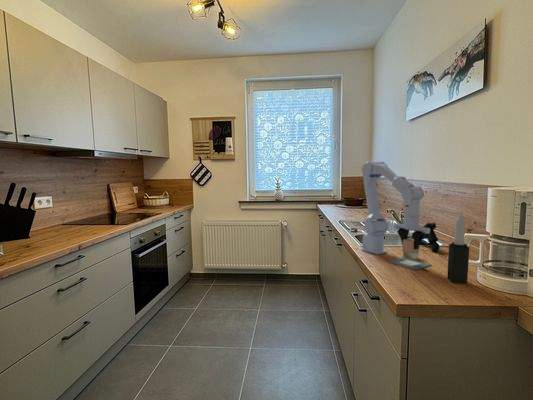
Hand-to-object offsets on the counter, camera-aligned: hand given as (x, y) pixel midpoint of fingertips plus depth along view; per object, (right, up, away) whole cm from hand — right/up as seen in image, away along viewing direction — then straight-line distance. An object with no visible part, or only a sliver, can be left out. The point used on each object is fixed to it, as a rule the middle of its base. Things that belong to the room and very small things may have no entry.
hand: (410, 247), depth 119 cm
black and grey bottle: (+7, -9, -18) cm, 22 cm away
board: (0, -7, +1) cm, 7 cm away
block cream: (+5, -6, +10) cm, 13 cm away
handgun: (+23, -5, +29) cm, 37 cm away
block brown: (0, -2, 0) cm, 2 cm away
